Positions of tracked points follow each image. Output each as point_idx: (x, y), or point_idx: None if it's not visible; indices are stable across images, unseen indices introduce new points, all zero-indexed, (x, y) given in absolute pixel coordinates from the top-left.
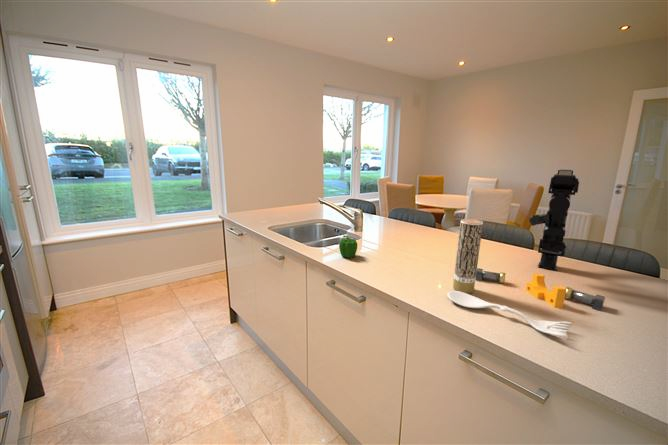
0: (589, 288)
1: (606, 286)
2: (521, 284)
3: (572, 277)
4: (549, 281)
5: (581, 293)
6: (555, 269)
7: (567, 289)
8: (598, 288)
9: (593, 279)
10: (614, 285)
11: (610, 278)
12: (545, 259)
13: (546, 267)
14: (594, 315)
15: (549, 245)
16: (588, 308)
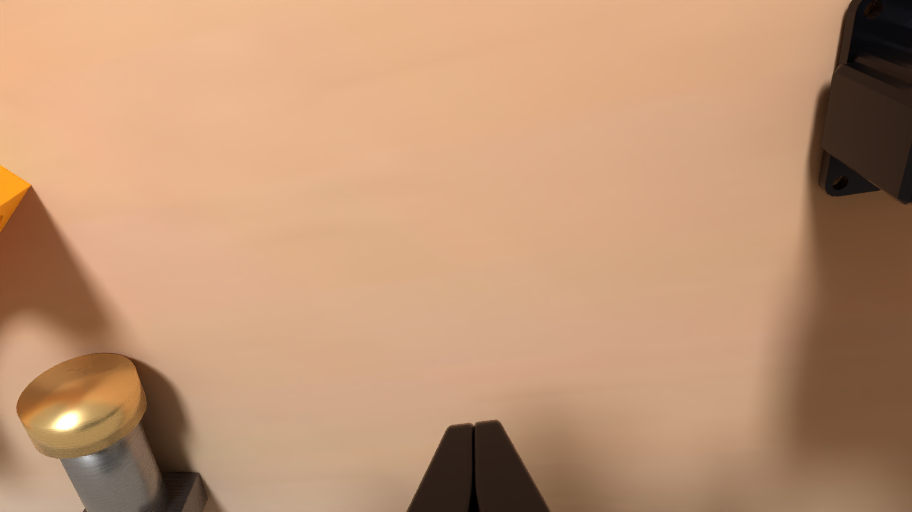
0: None
1: (635, 484)
2: (3, 15)
3: (694, 320)
4: (396, 206)
5: (77, 487)
6: (832, 185)
7: (27, 429)
8: (545, 460)
9: (752, 423)
10: (697, 508)
11: (860, 485)
12: (908, 111)
13: (830, 102)
14: (15, 486)
15: (414, 500)
16: None
